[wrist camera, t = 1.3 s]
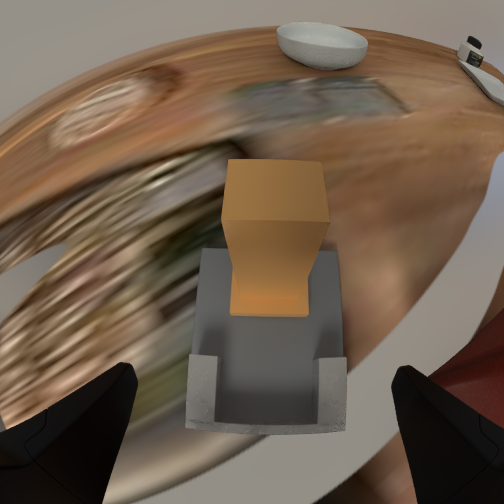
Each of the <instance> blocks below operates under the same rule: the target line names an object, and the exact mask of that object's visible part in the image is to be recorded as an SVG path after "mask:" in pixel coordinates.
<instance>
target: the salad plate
mask: <svg viewBox="0 0 504 504" xmlns="http://www.w3.org/2000/svg"><path fill="white" fill-rule="evenodd" d="M459 63H460V65H461V66H462V68H463V69H464V70H465V71H466V73H467V74H468V75H469V76H470V77H471V78H472V79H473V80H474V82H475V83H476V84H477V85H478V86H479V87H480V88H481V89H482V91H483V92H484V93H485V94H486V95H487V96H488V97H489V98H490V99H492V100H493V101H495V102H497V103H499V104H500V105H502V106H504V84H503V83H502V82H501V81H500V80H498V79H497V78H495V77H493V76H491V75H490V74H488V73H486V72H484V71H482V70H480V69H478V68H476V67H474V66H472V65H470V64H468V63H466V62H463V61H461V60H459Z"/></svg>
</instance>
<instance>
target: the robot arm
mask: <svg viewBox="0 0 504 504" xmlns="http://www.w3.org/2000/svg"><path fill="white" fill-rule="evenodd" d="M137 387H138V380H137V377H136V374H135V371H134V368H133V366H132V365H131V364H130V363H124V362H120V363H118V364H116V365H115V366H113V367H112V368H110V369H109V370H107V371H106V372H104V373H102V374H101V375H99V376H98V377H96V378H95V379H93V380H91V381H90V382H88V383H87V384H85V385H84V386H82V387H80V388H79V389H77V390H76V391H74V392H73V393H71V394H69V395H68V396H66V397H65V398H63V399H61V400H60V401H58V402H57V403H55V404H53V405H52V406H50V407H48V409H45V410H43V411H42V412H40V413H39V414H37V415H35V416H33V417H32V418H30V419H28V420H26V421H24V422H22V423H20V424H18V425H16V426H14V427H11V428H9V429H7V430H5V431H3V432H0V504H102V502H103V499H104V496H105V492H106V489H107V486H108V483H109V479H110V476H111V473H112V470H113V467H114V464H115V461H116V458H117V455H118V452H119V449H120V446H121V443H122V441H123V438H124V435H125V432H126V429H127V426H128V423H129V420H130V416H131V412H132V408H133V404H134V400H135V395H136V391H137ZM391 389H392V394H393V399H394V404H395V410H396V415H397V421H398V426H399V429H400V433H401V436H402V440H403V444H404V447H405V451H406V455H407V459H408V463H409V467H410V471H411V475H412V479H413V484H414V488H415V493H416V498H417V503H418V504H504V428H502V427H500V426H499V425H497V424H495V423H494V422H492V421H490V420H489V419H487V418H486V417H484V416H483V415H482V414H480V413H478V412H477V411H476V410H474V409H473V408H471V407H470V406H468V405H467V404H465V403H464V402H463V401H461V400H460V399H458V398H457V397H455V396H454V395H452V394H451V393H450V392H448V391H447V390H445V389H444V388H442V387H441V386H439V385H438V384H437V383H435V382H434V381H432V380H431V379H429V378H428V377H426V376H425V375H424V374H422V373H421V372H419V371H418V370H416V369H415V368H413V367H412V366H410V365H406V366H400V367H399V368H398V370H397V372H396V374H395V377H394V379H393V381H392V385H391Z"/></svg>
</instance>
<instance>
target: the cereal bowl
mask: <svg viewBox="0 0 504 504" xmlns="http://www.w3.org/2000/svg"><path fill="white" fill-rule="evenodd" d="M277 40H278V44H279V46H280V48H281V50H282V51H283V52H284V53H285V54H286V55H287V56H289V57H290V58H292V59H294V60H296V61H298V62H300V63H303V64H304V65H306V66H309V67H311V68H315V69H320V70H336V69H339V68H347V67H351V66H354V65H356V64H358V63H359V62H360V61H362V59H363V58H364V56H365V54H366V51H367V48H368V42H367V40H366V39H365V38H364V37H362V36H361V35H359V34H357V33H355V32H353V31H350V30H348V29H345V28H342V27H338V26H334V25H329V24H324V23H316V22H295V23H288V24H284V25H282V26H280V27H278V29H277Z"/></svg>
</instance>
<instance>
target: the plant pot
mask: <svg viewBox="0 0 504 504" xmlns="http://www.w3.org/2000/svg"><path fill="white" fill-rule="evenodd" d="M428 378H429V379H431V380H432V381H434V382H435V383H437V384H438V385H439V386H441V387H442V388H444V389H445V390H447V391H448V392H450V393H451V394H452V395H454V396H455V397H457V398H458V399H460V400H461V401H463V402H464V403H465V404H467V405H468V406H470V407H471V408H473V409H474V410H476V411H477V412H478V413H480V414H482V415H483V416H484V417H486V418H487V419H489V420H490V421H492V422H494V423H495V424H497V425H499V426H500V427H502V428H504V309H503V310H502V311H501V312H500V313H499V314H498V315H497V316H496V317H495V318H494V319H493V320H492V321H491V322H490V323H489V324H488V325H487V326H486V327H485V328H484V329H483V330H482V331H481V332H480V333H479V334H478V335H477V336H476V337H475V338H474V339H472V340H471V341H470V342H469V343H468V344H467V345H466V346H465V347H464V348H463V349H461V350H460V351H459V352H458V353H457V354H456V355H455V356H453V357H452V358H451V359H450V360H449V361H448V362H446V363H445V364H444V365H442V366H441V367H440V368H439V369H438V370H436V371H435V372H433V373H432V374H431V375H429V376H428Z"/></svg>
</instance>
